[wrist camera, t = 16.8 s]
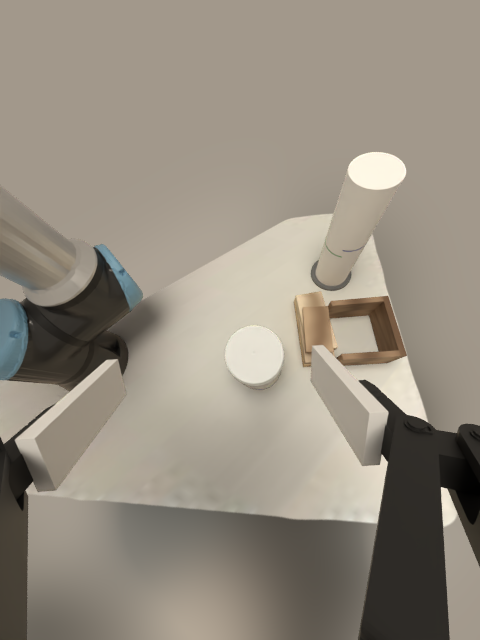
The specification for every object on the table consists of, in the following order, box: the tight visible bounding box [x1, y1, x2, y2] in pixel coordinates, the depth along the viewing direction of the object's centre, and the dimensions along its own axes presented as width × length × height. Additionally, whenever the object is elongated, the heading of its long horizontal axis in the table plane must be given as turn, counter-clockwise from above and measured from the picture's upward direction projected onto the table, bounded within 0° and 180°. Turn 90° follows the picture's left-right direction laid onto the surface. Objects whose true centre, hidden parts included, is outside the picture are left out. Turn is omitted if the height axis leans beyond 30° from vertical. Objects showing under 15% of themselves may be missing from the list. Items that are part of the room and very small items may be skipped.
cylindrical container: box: [315, 152, 406, 286], centre depth 41 cm, size 7×7×25 cm
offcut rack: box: [294, 291, 407, 367], centre depth 45 cm, size 17×15×7 cm
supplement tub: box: [225, 325, 284, 390], centre depth 41 cm, size 10×10×15 cm
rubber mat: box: [311, 260, 351, 291], centre depth 53 cm, size 9×9×1 cm
